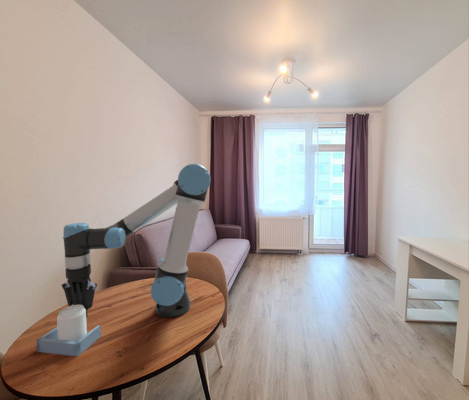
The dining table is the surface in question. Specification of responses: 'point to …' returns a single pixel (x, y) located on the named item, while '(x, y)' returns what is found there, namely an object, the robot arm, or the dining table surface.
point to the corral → (66, 343)
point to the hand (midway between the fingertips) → (81, 326)
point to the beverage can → (72, 323)
